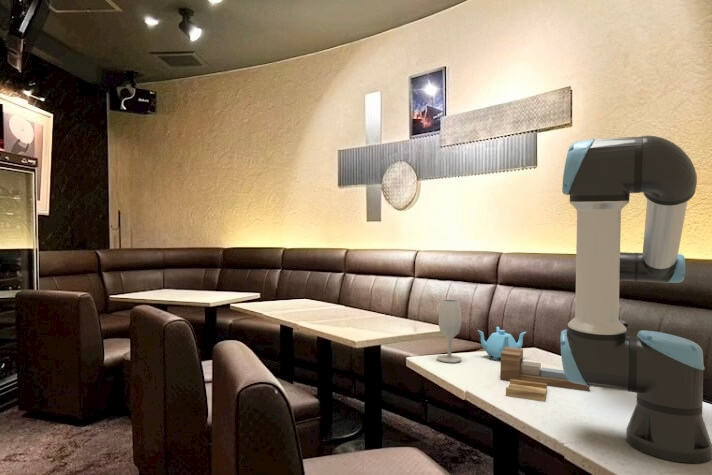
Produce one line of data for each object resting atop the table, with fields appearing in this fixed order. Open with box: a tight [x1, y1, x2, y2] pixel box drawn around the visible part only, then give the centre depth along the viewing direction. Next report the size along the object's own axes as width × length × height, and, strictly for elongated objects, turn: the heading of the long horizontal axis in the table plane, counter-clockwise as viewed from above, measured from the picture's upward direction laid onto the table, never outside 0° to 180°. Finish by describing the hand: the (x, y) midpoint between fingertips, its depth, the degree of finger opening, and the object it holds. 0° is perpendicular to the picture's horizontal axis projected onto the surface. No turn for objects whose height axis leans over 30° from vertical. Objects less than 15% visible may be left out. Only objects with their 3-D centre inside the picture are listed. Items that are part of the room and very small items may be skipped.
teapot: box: [476, 326, 527, 361], centre depth 176 cm, size 13×13×10 cm
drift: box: [540, 366, 568, 380], centre depth 147 cm, size 12×4×4 cm, turn 61°
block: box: [520, 360, 542, 377], centre depth 152 cm, size 11×5×5 cm, turn 64°
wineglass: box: [436, 298, 462, 364], centre depth 172 cm, size 9×9×21 cm
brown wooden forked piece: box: [499, 347, 591, 392], centre depth 149 cm, size 10×24×8 cm, turn 66°
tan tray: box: [505, 379, 548, 402], centre depth 137 cm, size 10×10×2 cm
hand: (601, 377), depth 143 cm, fingers closed
